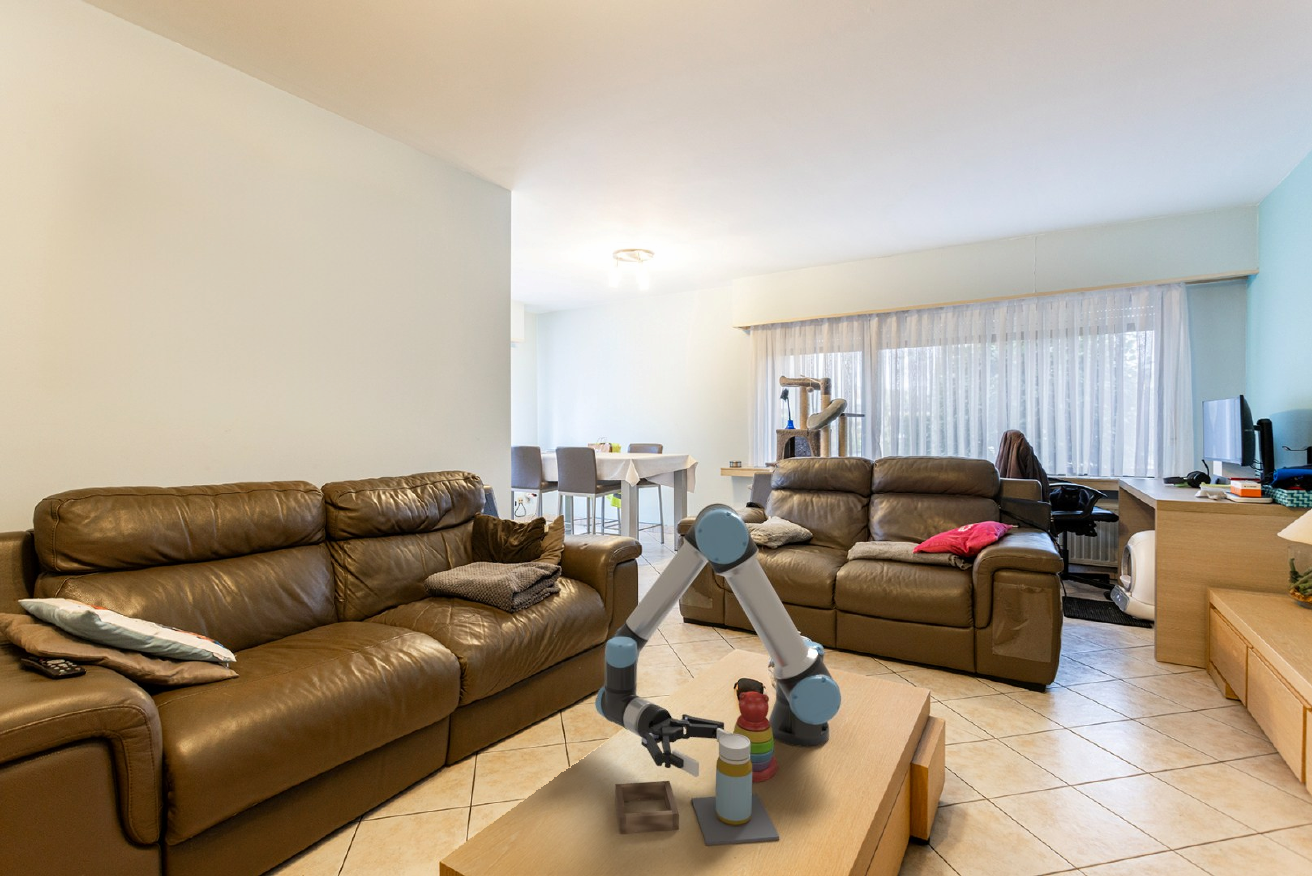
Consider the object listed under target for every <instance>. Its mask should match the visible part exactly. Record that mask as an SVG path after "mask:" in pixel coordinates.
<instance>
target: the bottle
mask: <svg viewBox="0 0 1312 876" xmlns="http://www.w3.org/2000/svg"><path fill="white" fill-rule="evenodd" d="M715 769H716V770H715V772H716V773H715V797H716V815H717V816H718V818H719V819H720V820H721V821H722V822H724V823H725V824H728V825H733V826H739V825H743V824H745V823H746V822H747V821H748V820H749V819H750V818H751V809H752V794H753V782H752V763H751V760H750V740H749V739H748V738H747V737H745V736H743V735H740V734H733V733H732V734H725V735H723V736H721V737H720V739H719V742H718V757H717V760H716V765H715Z"/></svg>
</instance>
